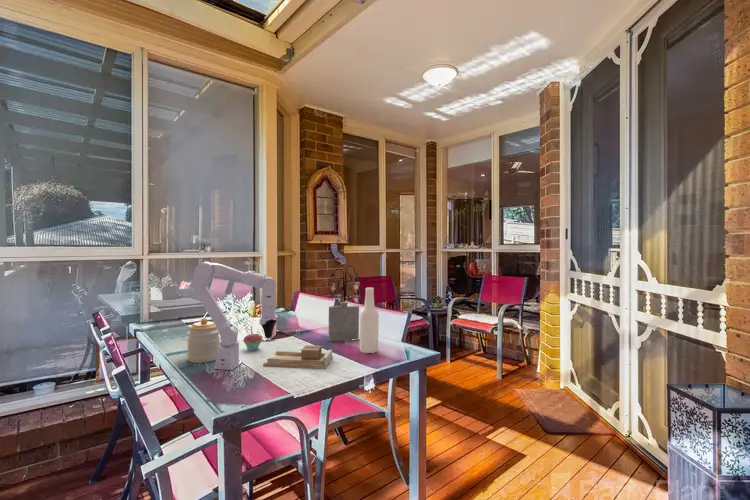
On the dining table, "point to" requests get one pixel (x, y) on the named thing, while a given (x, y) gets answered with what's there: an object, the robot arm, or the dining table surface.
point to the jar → (203, 342)
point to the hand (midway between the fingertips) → (268, 337)
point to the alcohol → (369, 324)
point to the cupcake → (252, 341)
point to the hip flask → (343, 322)
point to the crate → (311, 352)
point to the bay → (297, 360)
